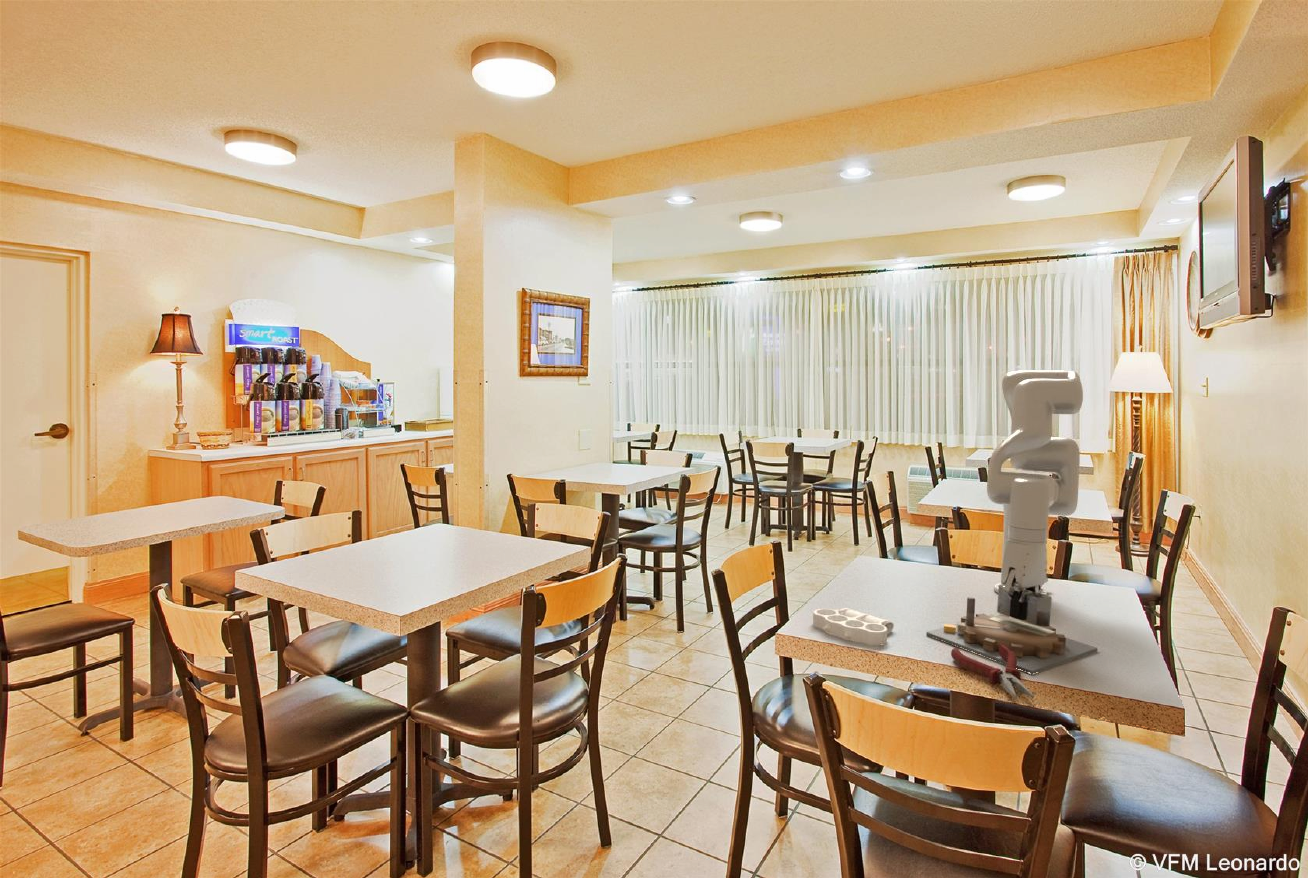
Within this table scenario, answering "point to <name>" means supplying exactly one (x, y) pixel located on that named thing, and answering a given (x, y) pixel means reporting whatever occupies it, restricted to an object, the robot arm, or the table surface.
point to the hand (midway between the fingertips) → (1022, 616)
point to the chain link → (1028, 606)
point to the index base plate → (1024, 663)
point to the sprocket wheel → (1009, 634)
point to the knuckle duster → (853, 625)
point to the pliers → (995, 670)
